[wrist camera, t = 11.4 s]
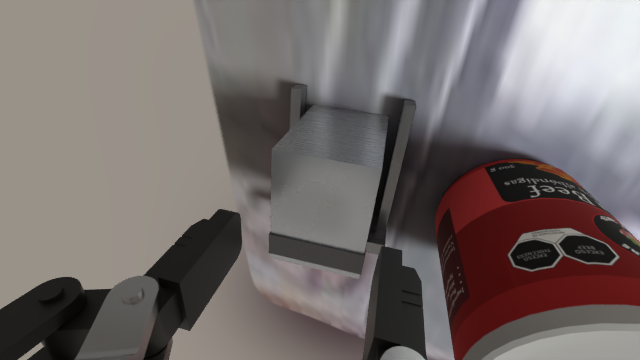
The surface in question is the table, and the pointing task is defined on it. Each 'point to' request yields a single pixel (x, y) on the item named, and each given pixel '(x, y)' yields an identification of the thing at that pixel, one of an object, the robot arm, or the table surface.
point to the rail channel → (380, 221)
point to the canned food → (536, 268)
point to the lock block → (326, 189)
